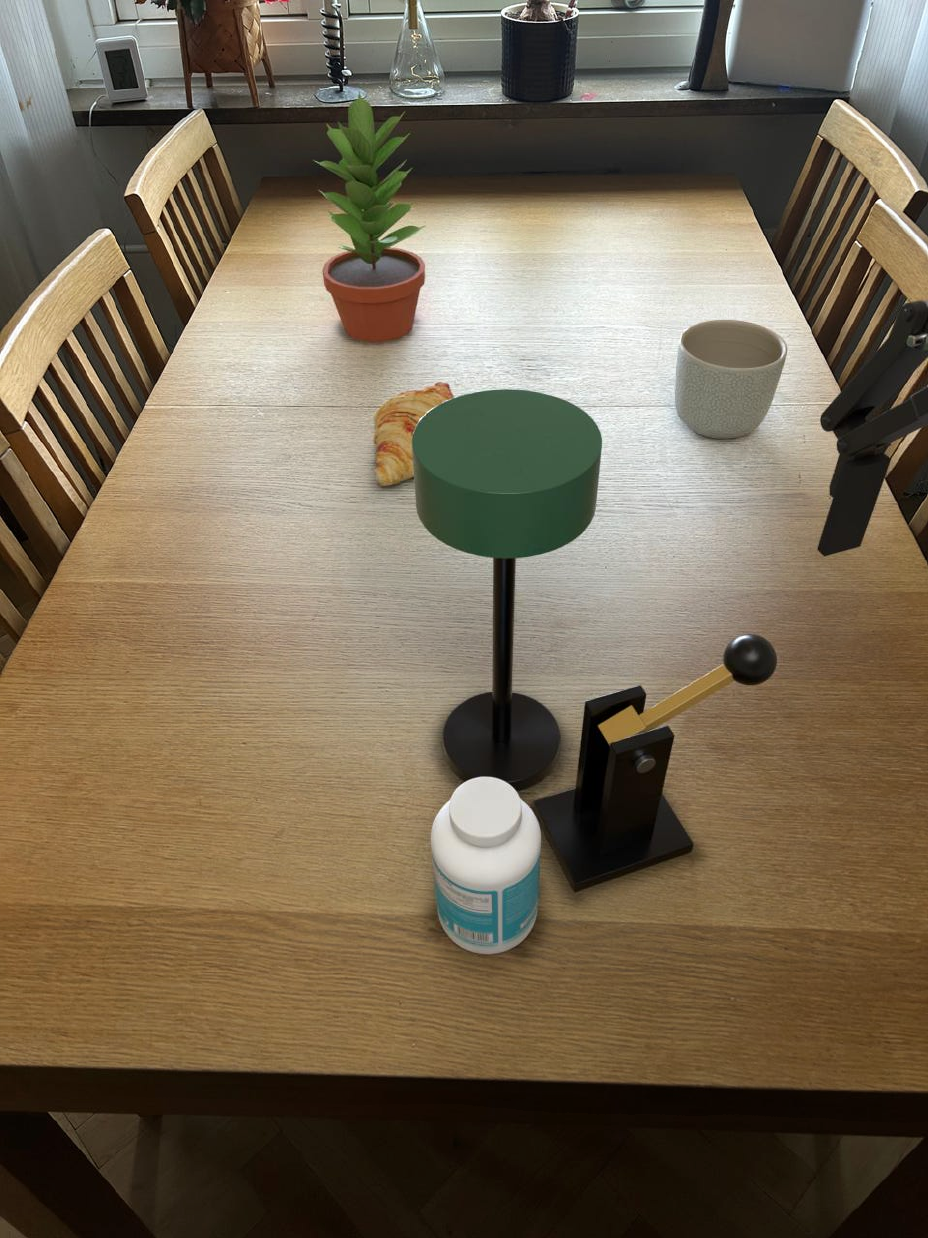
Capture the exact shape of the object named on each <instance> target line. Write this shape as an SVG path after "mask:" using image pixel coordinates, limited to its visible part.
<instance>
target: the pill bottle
mask: <svg viewBox="0 0 928 1238" xmlns="http://www.w3.org/2000/svg"><path fill="white" fill-rule="evenodd" d="M540 826H541V825H540V822H539V820H538V818H537V816H536V814H535V812H534V810H533V809H532V808H530V806H529V805H528V804H527V803H526V802H525V801H524V800H522V799H521V798H520V795H519V793H518V791H517V792H516V790H515V789H514V788H513V787H512V786H511V785H509V784H508V783H506V782H505V781H503V780H500V779H497V778H493V777H477V778H474V779H470V780H468V781H466V782H464V781H463V783H462V784H461V783H460V785H459V786H458V787H457V788H456V789H455V790H454V792H453V793H452V795H451V797H450V799H449V800H448V801H447V802H445V804H444V805H443V806H442V807H441V808H440V810H439V811H438V813H437V814H436V816H435V818H434V820H433V823H432V826H431V830H430V851H431V860H432V871H433V881H434V890H435V902H436V910H437V916H438V921H439V923H440V925H441V927H442V929H443V931H444V933H445V934H446V936H447V937H448V938H449V939H450V940H451V941H452V942H453V943H454V944H456V945H457V946H458V947H460V948H462V949H464V950H466V951H467V952H468V951H469V952H471V953H474V954H478V955H495V954H501V953H504V952H507V951H509V950H512V949H513V948H515V947H517V946H518V945H519V944H521V943H522V942H523V941H524V940H525V939H526V938H527V937H528V935H529V934H530V933H531V931H532V930H533V928H534V925H535V923H536V920H537V917H538V909H539V893H540V891H539V890H540V872H541V871H540V870H541V869H540V868H541V851H542V832H541V827H540Z"/></svg>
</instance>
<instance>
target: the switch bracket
mask: <svg viewBox="0 0 928 1238" xmlns="http://www.w3.org/2000/svg"><path fill="white" fill-rule="evenodd" d="M646 700H647V693H646V691H645V689H644V687H643V686H642V685H640V684H638V685H635V686H632V687H628V688H625V689H622V690H617V691H614V692H611V693H607V694H605V695H604V694H603V695H601V696H598V697H594V698H590V699H587V700H585V701H584V708H583V715H582V716H583V718H582V727H581V734H580V744H579V752H578V753H579V754H578V763H577V771H576V779H575V787H574V788H573V787H572V788H570V789H567V790H564V791H559V792H557V793H554V794H551V795H547V796H545V797H541V798H539V799H536V800H533V804H532V806H533V807H532V811H533V813H534V815H535V816H536V818H537V821H538V823H539V825H540V826H541V828H542V830H543V832H544V834H545V836H546V838H547V840H548V842H549V845H550V847H551V849H552V850H553V852H554V854H555V856H556V858H557V860H558V862H559V864H560V866H561V868H562V870H563V872H564V874H565V876H566V879H567V881H568V883H569V885H570V886H571V889H572V891H573V892H574V893H577V892H581V891H583V890H586V889H589V888H591V887H595V886H597V885H601V884H603V883H606V882H609V881H613V880H615V879H618V878H621V877H623V876H626V875H629V874H633V873H635V872H638V871H641V870H644V869H646V868H650V867H653V866H655V865H659V864H662V863H664V862H667V861H670V860H673V859H675V858H678V857H682V856H684V855H688V854H691V853H692V851H693V849H694V845H695V844H694V842H693V840H692V839H691V837H690V835H689V834H688V832H687V830H686V829H685V827H684V825H683V824H682V822H681V821H680V820H679V818H678V816H677V815H676V813H675V812H674V810H673V808H672V807H671V805H670V804H669V802H668V800H667V798H666V797H665V796H664V794H663V790H664V786H665V783H666V778H667V773H668V768H669V763H670V759H671V754H672V749H673V746H674V745H673V744H674V741H675V734H674V732H673V731H672V729H671V727H670V726H669V725H668V724H667V725H664V726H659V727H657V728H655V729H654V730H651V731H647V732H644V733H641V734H638V735H634V736H631V737H628V738H624V739H621V740H618V741H615V742H611V743H610V745H609V744H608V742H607V740H606V739H605V737H604V735H603V734H602V732H601V731H600V729H599V727H598V725H599V724H601V723H603V722H604V721H606V720H608V719H609V718H611V717H613V716H614V715H616V714H618V713H619V712H621V711H622V710H624V709H626V708H627V707H629V706H631V705H632V706H633V708H634V709H635V711H636V712H637V714H638V715H640V714H641V713H643V712H645V706H646Z"/></svg>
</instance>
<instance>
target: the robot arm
mask: <svg viewBox="0 0 928 1238" xmlns="http://www.w3.org/2000/svg"><path fill="white" fill-rule="evenodd" d="M927 359H928V298H923V299H919V300H914V301H909V302H904V303H903V304H902V305H901V307H900V309H899V311H898V313H897V315H896V318H895V319H894V323H893V325H892V328H891V330H890V332H889V334H888V337H887V338H886V340H885V341H884V342H883V343H882V344H881V345H880V346H879V348H877V350H876V351H875V352H874V353H873V355H872V356H871V357H870V358H869V359H868V360H867V361H866V362H865V363H864V365H863V366H862V367H861V368H860V369H859V371H858V372H857V373H856V374H855V375H854V377H852V378H851V380H850V381H849V382H848V383H847V384H846V385H845V387H844V388H843V389H842V390H841V391H840V392H839V393H838V395H836V397H835V398H834V399H833V401H831V403H830V404H829V405H828V406H827V407H826V408H825V410H824V411H823V412H822V413H821V415H820V419H819V423H820V425H821V426H820V427H821V429H822V430H823V431H824V432H826V433H828V432H832V433H833V435H834V436H835V438H836V439H837V441H836V451H837V452H838V458H837V461H836V464H835V468H834V471H833V474H832V477H831V479H830V483H829V493H828V494H829V496H830V497H831V498H832V500H831V503H830V506H829V509H828V513H827V516H826V519H825V522H824V526H823V528H822V532H821V535H820V538H819V541H818V544H817V548H816V551H817V552H819V554H821V555H822V556H823V557H825V558H826V557H828V556H832V555H835V554H839V553H842V552H846V551H850V550H853V549H857V548H860V547H861V546H862V543H863V540H864V537H865V535H866V532H867V530H868V526H869V524H870V521H871V518H872V516H873V513H874V509H875V507H876V504H877V501H878V499H879V495H880V492H881V490H882V486H883V484H884V481H885V478H886V475H887V473H888V470H889V467H890V464H891V461H892V458H891V457H889V456H888V455H887V454H886V453H884V452H878V453H876V450H878V449H883V448H886V447H891V446H892V443H894V442H896V441H898V440H900V439H902V438H904V437H906V436H908V435H910V434H912V433H914V432H916V431H918V430H920V429H922V428H924V427H926V426H928V385H927V386H925V387H923V388H922V389H920V390H918V391H917V392H914V393H913V394H911V395H909V398H908V399H906V400H904V401H903V402H901V403H899V404H897V405H896V406H895V405H894V406H893V407H892V408H890V409H888V410H887V411H884V412H883V413H881V414H879V415H878V416H875V417H874V418H872V419H870V418H871V417H872V416H873V415H874V414H875V413H876V412H877V411H878V410H879V409H880V408H881V407H882V406H883V405H884V404H885V403H886V402H887V400H888V399H890V398H891V396H893V394H894V393H895V392H897V390H898V389H900V387H901V386H902V385H903V384H904V383H905V382H906V381H907V379H909V377H910V376H911V375H912V374H913V373H914V372H915V371H916V370H917V369H918V368H919V367H921V365H923V363H924V362H925V361H926V360H927ZM869 419H870V420H869ZM868 420H869V421H868ZM875 453H876V454H875Z"/></svg>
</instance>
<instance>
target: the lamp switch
mask: <svg viewBox="0 0 928 1238" xmlns="http://www.w3.org/2000/svg"><path fill="white" fill-rule="evenodd" d="M775 649H776V648H775V647H774V645H773V644H772V643H771V642H770V641H769V640H768V639H766V638H765V637H763V636H761V635H759V634H754V633H745V634H741V635H738V636H736V637H734V638H733V639H732V640H731V641H729V643H728V644H727V646H726V647H725V648H724V652H723V655H722V664H721V665H719V666H717V667H716V668H714V669H713V670H710V671H709V672H708V673H706V674H704V675H703V676H701V677H699V678H698V679H696V680H694V681H692V682H691V683H689V684H688V685H686V686H684V687H682V688H681V689H679V690H678V691H676V692H674V693H673V694H671V695H670V696H668V697H666V698H665V699H663V700H661V701H659V702H658V703H657V704H654V705H653V706H651V707H649V708H648V709H646V710H644V712H643V713H641V714H640V715H638V714H637V712H636V711H635V709H634V708H633V706H632V705H631V706H629V707H627V708H626V709H624V710H622V711H621V712H619V713H618V714H616V715H614V716H613V717H611V718H609V719H608V720H606V721H604V722H603V723H601V724H599V725H598V727H599V729H600V731H601V732H602V734H603V735H604V737H605V739H606V740H607V742H608V744H609V745H610V743H611V742H615V741H618V740H621V739H624V738H628V737H631V736H634V735H638V734H641V733H644V732H647V731H651V730H654V729H657V728H660V727H661V726H663V725H664V724H665V723H667V722H669V721H670V720H673V718H675V717H677V716H679V715H681V714H682V713H683V712H685V711H687V710H688V709H690V708H692V707H694V706H695V705H697V704H699V703H700V702H702V701H704V700H705V699H707V698H708V697H711V695H714V694H715V693H716V692H718V691H720V690H722V689H723V688H725V687H727V686H729V685H730V684H732V683H733V682H736V683H737V684H740V685H742V686H748V687H749V686H750V687H751V686H752V687H753V686H758V685H762V684H763V683H765V682H766V681H768V680H769V679H771V678H772V676H773V674H775V671H776V668H777V665H778V656H777V655H778V654H777V652H776V650H775Z"/></svg>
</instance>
